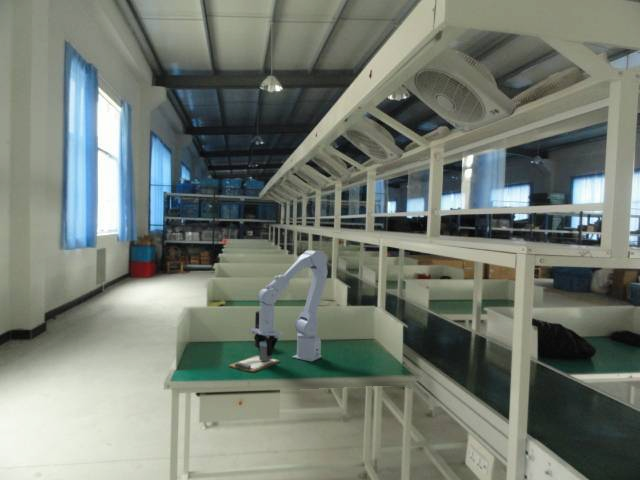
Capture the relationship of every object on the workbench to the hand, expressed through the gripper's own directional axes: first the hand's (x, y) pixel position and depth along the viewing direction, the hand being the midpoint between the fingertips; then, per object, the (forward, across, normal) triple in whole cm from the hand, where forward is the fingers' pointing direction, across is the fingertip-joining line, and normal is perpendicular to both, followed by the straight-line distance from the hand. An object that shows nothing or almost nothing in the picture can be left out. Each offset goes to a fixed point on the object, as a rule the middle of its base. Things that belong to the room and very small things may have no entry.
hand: (265, 354), depth 160 cm
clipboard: (+3, -2, -4) cm, 5 cm away
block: (+2, 0, 0) cm, 2 cm away
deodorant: (+3, -17, +19) cm, 26 cm away
